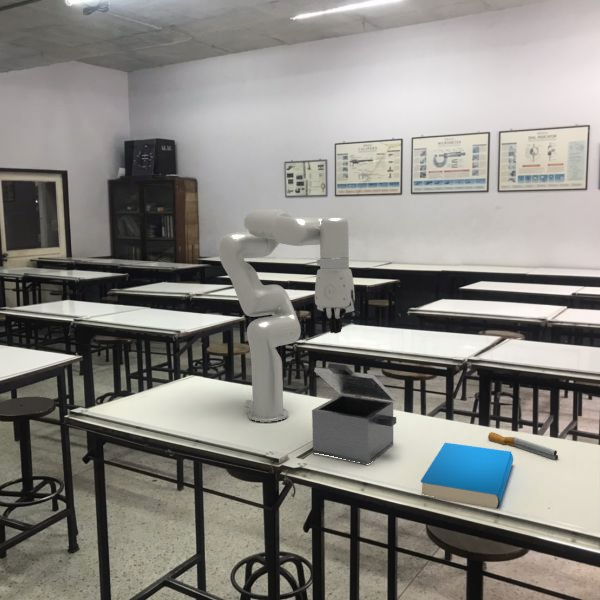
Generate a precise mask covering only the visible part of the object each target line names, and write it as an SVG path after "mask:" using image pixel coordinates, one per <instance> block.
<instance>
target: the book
mask: <svg viewBox="0 0 600 600" xmlns="http://www.w3.org/2000/svg"><path fill="white" fill-rule="evenodd" d="M513 463H514V456H513V453H512V451H510V450H501V449H497V448H496V449H495V448H490V447H489V448H488V447H487V448H486V447H481V446H473V445H466V444H460V443H459V444H457V443H451V442H444V443H443V444H442V446H441V448H440V450H439V451H438V453H437V454H436V456H435V458H434V459H433V461H432V462H431V464H430V465H429V467H428V468H427V470H426V471H425V473H424V474H423V476H422V477H421V480H420V483H422V484H421V487H422V488H421V495H422V494H424V495H429V496H434V497H438V498H437V499H440V498H442V499H441V500H446V499H447V501H453V502H457V501H458V503H463V502H464V504H468V505H469V504H470V505H476V506H480V505H481V507H488V508H492V509H496V508H499V507H500V503H501V501H502V498H503V494H504V492H505V488H506V484H507V481H508V479H509V476H510V472H511V470H512V469H511V468H512V465H513ZM429 496H428V497H429ZM434 497H433V498H434Z"/></svg>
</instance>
